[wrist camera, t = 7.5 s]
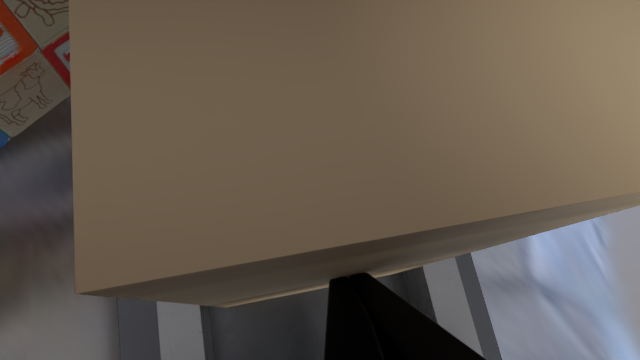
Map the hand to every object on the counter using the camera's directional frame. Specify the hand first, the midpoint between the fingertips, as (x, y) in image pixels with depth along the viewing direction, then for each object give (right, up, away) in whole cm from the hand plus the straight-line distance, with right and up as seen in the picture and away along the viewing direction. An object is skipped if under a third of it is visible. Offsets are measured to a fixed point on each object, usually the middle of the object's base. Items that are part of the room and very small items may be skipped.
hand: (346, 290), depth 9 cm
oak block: (-1, +1, +7) cm, 7 cm away
